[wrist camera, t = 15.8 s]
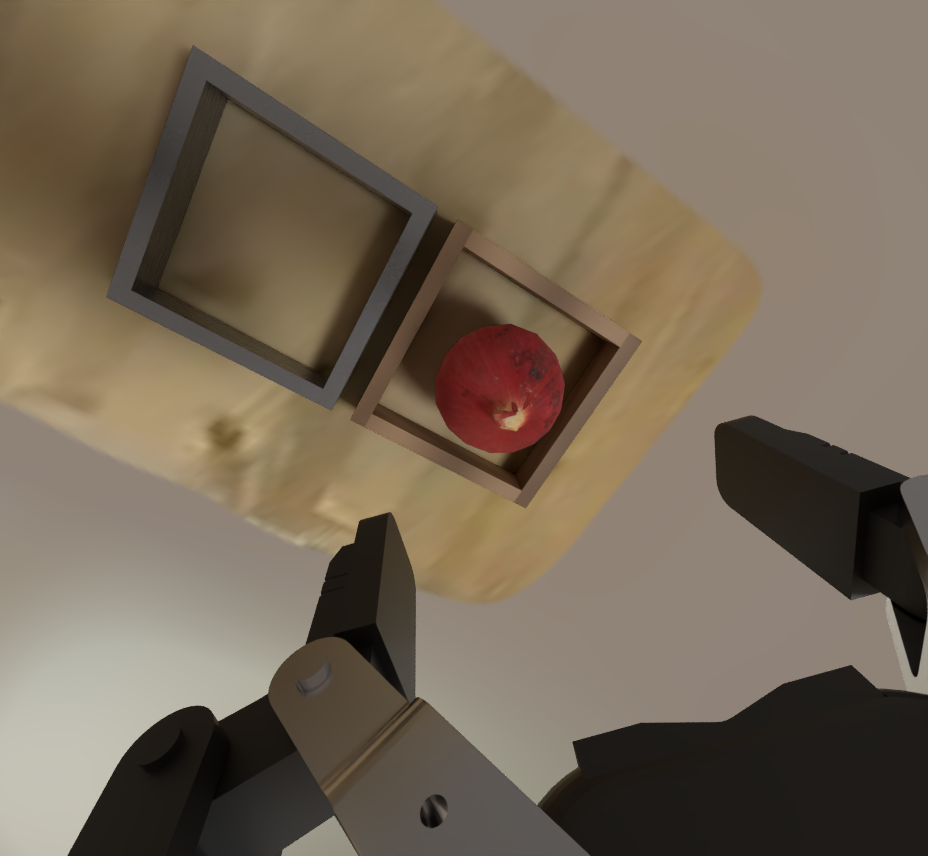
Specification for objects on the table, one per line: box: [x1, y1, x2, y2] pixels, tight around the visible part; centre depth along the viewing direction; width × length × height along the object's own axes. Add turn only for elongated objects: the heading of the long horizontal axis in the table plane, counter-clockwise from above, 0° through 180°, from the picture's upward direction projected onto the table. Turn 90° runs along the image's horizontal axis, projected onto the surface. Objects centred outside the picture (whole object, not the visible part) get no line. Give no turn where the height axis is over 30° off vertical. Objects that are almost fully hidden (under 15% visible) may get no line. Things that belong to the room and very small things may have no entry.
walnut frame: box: [350, 220, 642, 508], centre depth 23 cm, size 11×11×2 cm
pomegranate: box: [435, 324, 565, 453], centre depth 20 cm, size 6×6×8 cm
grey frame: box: [106, 45, 438, 410], centre depth 20 cm, size 11×11×2 cm
